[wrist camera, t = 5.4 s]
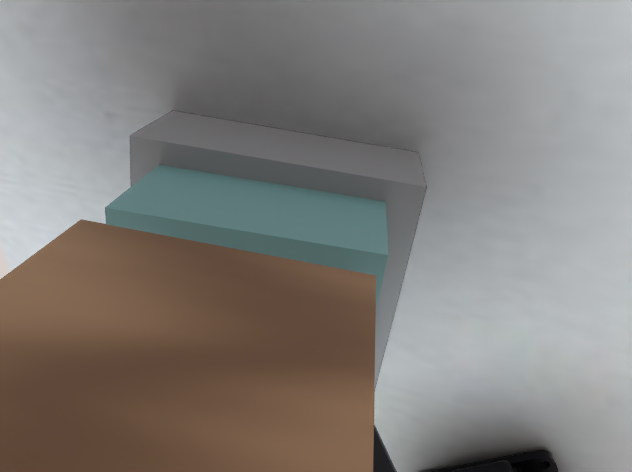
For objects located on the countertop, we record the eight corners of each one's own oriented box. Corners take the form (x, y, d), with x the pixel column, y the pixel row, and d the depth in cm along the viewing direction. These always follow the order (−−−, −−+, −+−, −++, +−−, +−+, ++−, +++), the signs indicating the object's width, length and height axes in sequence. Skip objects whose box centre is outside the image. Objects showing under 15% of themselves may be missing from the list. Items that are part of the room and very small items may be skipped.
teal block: (385, 201, 15) (388, 255, 12) (348, 379, 19) (343, 458, 15) (159, 164, 16) (104, 207, 13) (159, 346, 19) (116, 417, 16)
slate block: (417, 149, 19) (427, 186, 15) (370, 345, 23) (369, 411, 19) (176, 108, 19) (129, 135, 15) (172, 308, 23) (134, 367, 19)
